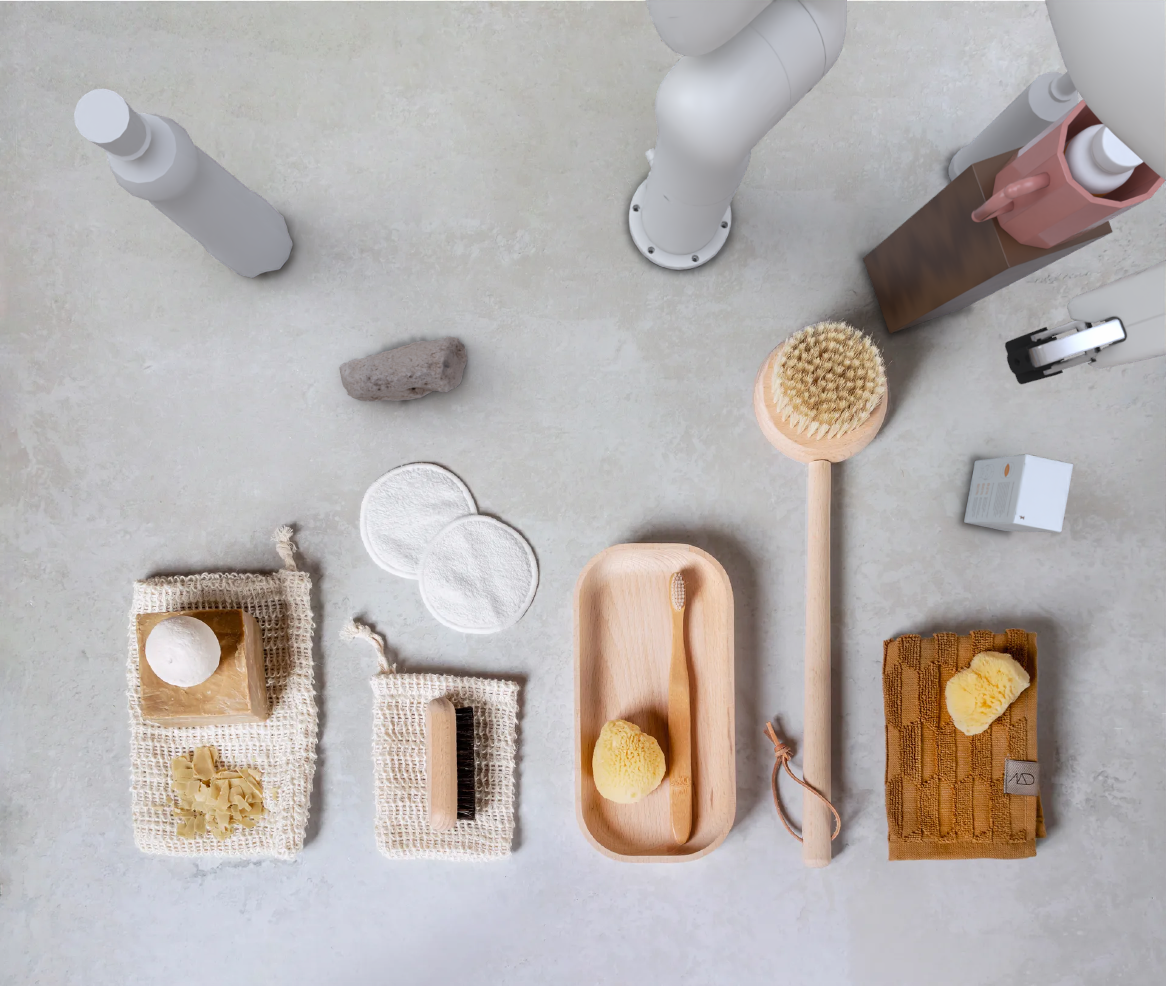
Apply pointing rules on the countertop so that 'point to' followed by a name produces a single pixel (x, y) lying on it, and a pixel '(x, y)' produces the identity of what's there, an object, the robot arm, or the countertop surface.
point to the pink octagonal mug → (1057, 189)
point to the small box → (1019, 493)
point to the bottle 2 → (1020, 120)
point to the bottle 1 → (185, 184)
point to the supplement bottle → (1099, 160)
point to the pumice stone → (406, 371)
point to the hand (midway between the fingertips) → (1079, 340)
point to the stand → (955, 252)
